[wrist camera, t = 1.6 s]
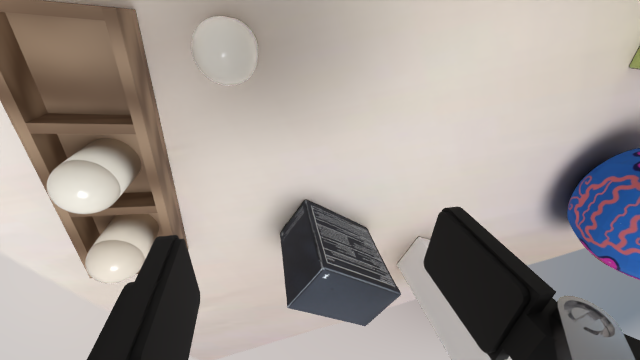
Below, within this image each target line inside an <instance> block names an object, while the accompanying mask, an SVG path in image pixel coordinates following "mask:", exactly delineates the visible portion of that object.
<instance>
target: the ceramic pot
mask: <svg viewBox="0 0 640 360" xmlns="http://www.w3.org/2000/svg"><path fill="white" fill-rule="evenodd" d="M567 216H568V220H569V223H570V225H571V227H572V229H573V231H574V232H575V234H576V235H577V237H578V239H579V240H580V242H581V243H582V244H583V245H584V247H585V248H586V249H587V250H589V252H591V253H592V254H593V255H594V256H595V257H596V258H597V259H598V260H600V261H601V262H603V263H604V264H606V265H608V266H610V267H612V268H614V269H616V270H618V271H620V272H622V273H624V274H626V275H628V276H631V277H634V278H636V279H639V280H640V148H638V149H633V150H629V151H626V152H623V153H621V154H618V155H616V156H614V157H612V158H610V159H608V160H607V161H605V162H603V163H602V164H600V165H599V166H597V167H596V168H594V169H593V170H592V171H590V172H589V173H588V174H587V175H586V176H585V177H584V178H583V179H582V180H581V181H580V183H579V184H578V185H577V187H576V188H575V190H574V192H573V193H572V196H571V198H570V201H569V204H568V211H567Z"/></svg>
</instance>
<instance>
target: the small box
mask: <svg viewBox="0 0 640 360" xmlns="http://www.w3.org/2000/svg"><path fill="white" fill-rule="evenodd" d="M280 237H281V247H282V256H283V266H284V276H285V287H286V296H287V308H290V309H295V310H299V311H303V312H308V313H312V314H316V315H320V316H325V317H329V318H333V319H337V320H342V321H346V322H351V323H355V324H359V325H362V326H366V325H367V324H368V323H370V322H371V321H372V320H373V319H374V318H375V317H376V316H378V314H380V313H381V312H382V311H383V310H384V309H385V308H386V307H387V306H388V305H390V304H391V303H392V302H393V301H394V300H396V299H397V298H398V297H399V296H400V295H401V293H400V291H399V289H398V287H397V286H396V284H395V282H394V280H393V279H392V277H391V275H390V273H389V271H388V270H387V267H386V265H385V263H384V261H383V259H382V257H381V255H380V254H379V251H378V250H377V248H376V246H375V243H374V242H373V239H372V237H371V235H370V233H369V231H368V229H367V228H366V227H364V226H362V225H360V224H357V223H355V222H353V221H351V220H349V219H347V218H345V217H342V216H340V215H338V214H336V213H334V212H332V211H330V210H328V209H325V208H323V207H321V206H319V205H317V204H314V203H312V202H310V201H308V200H305V201H304V202H303V203H302V204H301V206H300V208H299V209H298V210H297V212H296V213H295V214H294V216H293V217H292V218H291V219H290V221H289V222H288V223H287V224H286V225H285V227H284V228H283V230H282V232H281V233H280Z"/></svg>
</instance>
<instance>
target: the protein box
mask: <svg viewBox="0 0 640 360" xmlns="http://www.w3.org/2000/svg"><path fill="white" fill-rule="evenodd" d="M630 68H633V69H640V47H639V49H638V51H637V53H636V55H635V57H634V59H633V60H632V62H631V64H630Z"/></svg>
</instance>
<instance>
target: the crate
mask: <svg viewBox="0 0 640 360" xmlns="http://www.w3.org/2000/svg"><path fill="white" fill-rule="evenodd" d="M0 101H1V103H2V105H3V107H4V109H5V111H6V113H7V115H8V117H9V118H10V120H11V122H12V124H13V126H14V128H15V130H16V132H17V134H18V136H19V138H20V140H21V142H22V144H23V146H24V148H25V150H26V152H27V154H28V156H29V158H30V160H31V162H32V164H33V166H34V168H35V170H36V172H37V174H38V176H39V178H40V180H41V182H42V184H43V186H44V188H45V190H46V192H47V180H48V178H49V175H50V174H51V172H52V171H53V170H54V169H55V168H56V167H57V166H58V165H59V164H61V163H62V162H64V161H65V160H67V159H68V158H69V157H71V156H72V155H74V154H75V153H76V152H78V151H79V150H81V149H82V148H84V147H85V146H86V145H88V144H89V143H91V142H92V141H94V140H97V139H101V138H111V139H116V140H119V141H122V142H124V143H126V144H128V145H129V146H130V147H132V148H133V149H134V150H135V151H136V153H137V154H138V156H139V157H140V160H141V170H140V172H139V174H138V175H137V176H136V177H135V179H134V180H133V181H132V182H131V184H130V185H129V186H128V187H127V188H126V190H125V191H124V192H123V193H122V195H121V196H120V197H119V198H118V200H117V201H116V202H115V203H114V204H113V205H112V206H110V207H109V208H107V209H105V210H103V211H100V212H97V213H92V214H77V213H72V212H68V211H66V210H64V209H62V208H60V207H58V206H57V205H56V204H55V203H54V202H53V201H52V200H51V198H50V197H49V198H50V200H51V202H52V204H53V206H54V207H55V209H56V211H57V213H58V215H59V217H60V219H61V221H62V223H63V225H64V227H65V229H66V231H67V233H68V235H69V237H70V239H71V241H72V243H73V245H74V247H75V249H76V251H77V253H78V255H79V257H80V259H81V261H82V263H83V265H84V267H85V269H86V265H85V261H86V256H87V254H88V252H89V250H90V249H91V247H92V246H93V245H94V243H95V242H96V241H97V239H98V238H99V236H100V235H101V234H102V232H103V231H104V230H105V228H106V227H107V226H108V224H109V223H110V222H111V220H112V219H113V218H114V217H115V216H116V215H126V214H149V215H150V216H152V217H153V218H154V219H155V220H156V221H157V223H158V225H159V233H158V235H157V237H159V236H169V235H177V236H178V237H179V239H184V240H185V242H186V245H187V241H186V236H185V232H184V227H183V223H182V218H181V214H180V209H179V205H178V200H177V196H176V191H175V187H174V182H173V178H172V173H171V169H170V164H169V160H168V155H167V151H166V146H165V142H164V137H163V133H162V128H161V124H160V119H159V115H158V110H157V106H156V101H155V97H154V92H153V87H152V83H151V78H150V74H149V69H148V65H147V60H146V56H145V51H144V47H143V42H142V38H141V33H140V29H139V24H138V20H137V15H136V11H135V10H133V9H124V8H115V7H104V6H94V5H83V4H73V3H62V2H52V1H41V0H0ZM47 194H48V192H47ZM48 196H49V195H48ZM187 249H188V246H187ZM86 271H87V269H86ZM139 272H140V270H139ZM139 272H138V273H137V274H139ZM87 273H88V272H87ZM88 275H89V273H88ZM89 277H90V278H92V277H91V276H90V275H89Z"/></svg>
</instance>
